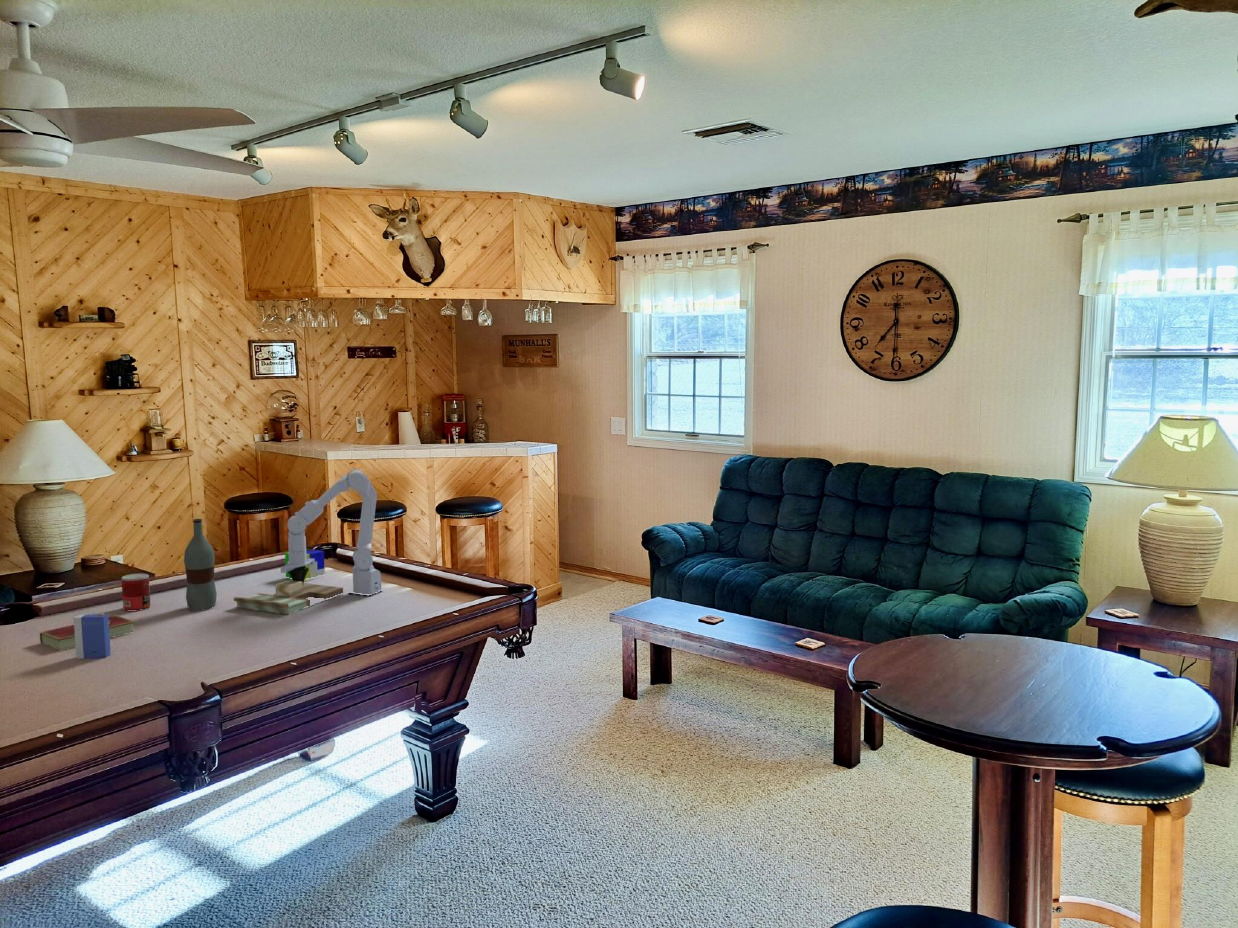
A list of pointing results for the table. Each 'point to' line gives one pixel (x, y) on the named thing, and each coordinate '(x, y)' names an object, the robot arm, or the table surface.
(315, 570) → the puzzle toy
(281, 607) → the trap deck
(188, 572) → the bottle
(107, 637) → the walkman
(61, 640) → the hardcover book
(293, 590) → the maple block
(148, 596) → the canned food
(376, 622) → the table surface
